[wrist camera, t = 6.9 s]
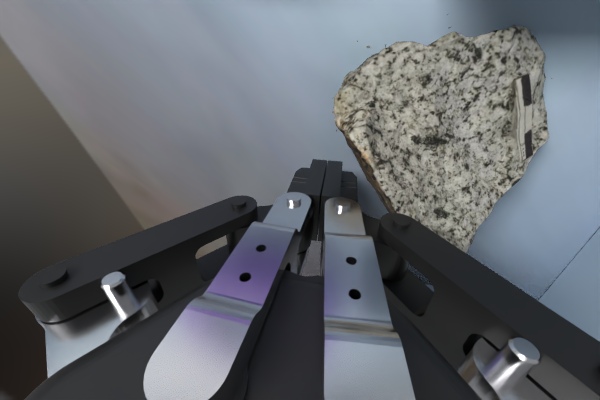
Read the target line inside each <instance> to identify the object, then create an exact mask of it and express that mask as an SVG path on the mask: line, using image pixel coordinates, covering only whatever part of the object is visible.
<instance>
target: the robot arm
mask: <svg viewBox="0 0 600 400" xmlns="http://www.w3.org/2000/svg"><path fill="white" fill-rule="evenodd" d="M318 229H319V234H318ZM225 235H226V238H227V245H225V246H223V247H221V248H219V249H217V250H215V251H213V252H211V253H209V254H207V255H205V256H203V257H201V258H199V259H196V258H195V255H196V252H197V251H198V249H199V248H200V247H202V246H204V245H206V244H208V243H210V242H212V241H214V240H216V239H219V238H221V237H223V236H225ZM317 235H318V241H322V243H321V254H320V276H302V272H303V269H304V266H305V263H306V260H307V256H308V252H309V247H310V244H311V240H315V241H317ZM409 263H410V264H411V265H412V266H413V267H415V268H416V269H417V270H418V271H419V272H421V273H422V274H423V275H424V276H425V277H427V278H428V279H429V280H430V282H431V283H432V285H433V288H434V292H433V291H432V290H431V289H430V288H429V287H427V286H426V285H425V284H424V283H423V282H422V281H421V280H419V279H418V278H417V277H416V276H415V275H414V274H412V273H411V272H410V271H409V270H408V266H409ZM19 298H20V300H21V301H22V302H23V303H24V304H25V305H26V306H27V307H28V308H29V309H30V310H31V312H33V314H34V315H35V316H36V320H37V321H38V322H39V323H40V324H41V326H43V328H44V329H45V336H46V353H47V371H48V379H46V380H45V381H44V382H43V383H42V384H41V385H39V386H38V387H37V388H36V389H35V390H34V391H33V392H32V393H31V394H30V395H29V396H28V397H27V398H26V399H25V400H600V342H599V341H598V340H596V339H595V338H593V337H592V336H590V335H589V334H587V333H586V332H584V331H583V330H581V329H580V328H578V327H577V326H575V325H574V324H572V323H571V322H569V321H568V320H566V319H565V318H563V317H562V316H560V315H559V314H557V313H556V312H554V311H552V310H551V309H549V308H548V307H546V306H545V305H543V304H542V303H540V302H539V301H537V300H536V299H534V298H533V297H531V296H530V295H528V294H527V293H525V292H524V291H522V290H521V289H519V288H518V287H516V286H515V285H513V284H512V283H510V282H509V281H507V280H506V279H504V278H503V277H501V276H500V275H498V274H497V273H495V272H494V271H492V270H490V269H489V268H487V267H486V266H484V265H483V264H481V263H480V262H478V261H477V260H475V259H474V258H472V257H471V256H469V255H468V254H466V253H465V252H463V251H462V250H460V249H459V248H457V247H456V246H454V245H453V244H451V243H450V242H448V241H447V240H445V239H444V238H442V237H441V236H439V235H438V234H436V233H435V232H433V231H432V230H430V229H429V228H427V227H425V226H424V225H422V224H421V223H419V222H418V221H416V220H415V219H413V218H412V217H410V216H407V215H404V214H400V213H388V214H385V215H383V216H382V217H381V220H378V219H375V218H372V217H369V216H367V215H366V214H364V213H363V212H362V211H361V208H360V205H359V204H358V200H357V177H356V176H355V175H354V174H353V173H352V172H345V171H342V162H340V161H328V164H327V160H316V159H313V161H312V164H311V167H310V168H300V169H299V170H298V171H296V173H295V175H294V178H293V180H292V182H291V184H290V187H289V189H288V191H287V193H284V194H282V195H280V196H279V197H278V198H277V200H276V202H275V203H274V205H270V206H259V207H257V202H256V200H255V199H253V198H252V197H249V196H234V197H231V198H228V199H225V200H223V201H220V202H217V203H215V204H212V205H210V206H207V207H204V208H202V209H199V210H196V211H194V212H191V213H188V214H186V215H183V216H180V217H178V218H175V219H173V220H170V221H167V222H165V223H162V224H159V225H157V226H154V227H151V228H149V229H146V230H144V231H141V232H138V233H136V234H133V235H130V236H128V237H125V238H122V239H120V240H117V241H115V242H112V243H109V244H107V245H104V246H101V247H99V248H96V249H93V250H91V251H88V252H86V253H83V254H80V255H78V256H75V257H72V258H70V259H67V260H64V261H62V262H59V263H57V264H54V265H51V266H49V267H47V268H45V269H43V270H41V271H39V272H38V273H36V274H35V275H33V276H32V277H31V278H30V279H28V280H27V281H26V282H25V283H24V284H23V285H22V287H21V289H20V291H19Z"/></svg>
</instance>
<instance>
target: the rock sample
mask: <svg viewBox="0 0 600 400" xmlns="http://www.w3.org/2000/svg"><path fill="white" fill-rule="evenodd" d="M447 15H448V14H447ZM449 28H450V27H449ZM357 42H358V40H357ZM366 47H367V48H370V47H369V46H366ZM544 61H545V54H544V52H543V50H542V49H541V48H540V46H539V44H538V43H537V41H536V38H535V37H534V35H533V36H531V33H530V30H528V29H527V28H525V27H524V26H523V27H517V26H515V25H513V26H511V27H509V28H507V29H505V30H496V31H491V32H490V33H488V34H483V35H479V36H476V37H466V36H463V35H461V34H459V33H456V32H451V33H449V34H447V35H445V36H443V37H442V38H440V39H438V40H437V41H435V42H433V43H432V44H430V45H428V46H425V45H422V44H419V43H416V42H396V43H394V44H393V45H391V46H389V47H388V48H386V45H385V49H383V50H381V51H380V53H377V54H375V55H372V56H371V57H369V58H368V59H366V61H365V62H364V63H363V64H362V65H361V66H359V67H358V68H357V69H356V70H355V71H352V72H349V73H348V74H347V75H346V76H345V77H344V81H343V83H342V87H341V88H340V90H339V92H338V94H336V95H335V98H334V110H333V112H332V113H334V114H335V123H336V126H337V127H338V129H339V130H340V131H341V132H342V133H343V134H344V136H345V138H346V141H347V144H348V146H349V147H350V148H351V149H352V151H353V153H354V154H355V156H356V158H357V160H358V162H359V164H360V167H361V168H362V170H363V172H364V174H365V176H366V178H367V180H368V181H369V182H370V183H371V185H372V186H373V187H374V189H375V190H376V191H377V193H378V195H379V197H380V199H381V201H382V202H383V204H384V205H385V207H386V208H387V210H388V211H389V213H400V214H404V215H407V216H410V217H412V218H413V219H415V220H416V221H418V222H419V223H421V224H422V225H424V226H425V227H427V228H429V229H430V230H432V231H433V232H435V233H436V234H438V235H439V236H441V237H442V238H444V239H445V240H447V241H448V242H450V243H451V244H453V245H454V246H456V247H457V248H459V249H460V250H462V251H463V252H465V253H467V250H468V247H469V246H470V245H471V244H472V241H473V238H474V235H475V233H476V230H477V228H478V227H479V226H480V225H481V224H482V223H483V222H484V220H485V219H486V218H487V217H488V216H489V215H490V213H491V212H492V210H493V207H494V204H495V203H496V202H497V201H498V200H499V199H500V198H501V197H502V196H503V195H504V194H505V193H506V191H507V190H508V189H510V188H511V187H512V186H513V185H515V184H516V183H517V182H518V181H519V180H520V179H521V178H522V176H523V174H524V173H525V171H526V169H527V166H528V164H529V162H530V161H531V159H532V157H533V156H534V154H535V152H536V151H537V150H538V149H539V147H540V146H542V145H543V144H545V143H546V142H547V140H548V138H549V133H548V130H547V112H546V109H545V103H544V98H543V85H544V81H545V78H546V77H545V74H544V70H543V65H544ZM551 79H552V78H551ZM336 131H337V130H336Z"/></svg>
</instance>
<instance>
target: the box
mask: <svg viewBox="0 0 600 400" xmlns="http://www.w3.org/2000/svg"><path fill="white" fill-rule="evenodd" d="M425 285H426V286H427V287H429V288H430V289H431V290H432V291H433V292H434V288H433V285H428V284H425ZM537 301H539V302H540V303H542V304H543V305H545V306H546V307H548V308H549V309H551V310H552V311H554V312H556V313H557V314H559V315H560V316H562V317H563V318H565V319H566V320H568V321H569V322H571V323H572V324H574V325H575V326H577V327H578V328H580V329H581V330H583V331H584V332H586V333H587V334H589V335H590V336H592V337H593V338H595V339H596V340H598V341H599V342H600V228H599V229H598V230H597V232H596V233H595V234H594V235H593V236H592V238H591V239H590V240H589V241H588V242H587V243H586V245H585V246H584V247H583V248H582V249H581V251H580V252H579V253H578V254H577V255H576V256H575V258H574V259H573V260H572V261H571V262H570V264H569V265H568V266H567V267H566V268H565V270H564V271H563V272H562V273H561V274H560V275H559V277H558V278H557V279H556V280H555V281H554V283H553V284H552V285H551V286H550V287H549V289H548V290H547V291H546V292H545V293H544V294H543V296H542V297H541V298H540V299H539V300H537Z"/></svg>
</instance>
